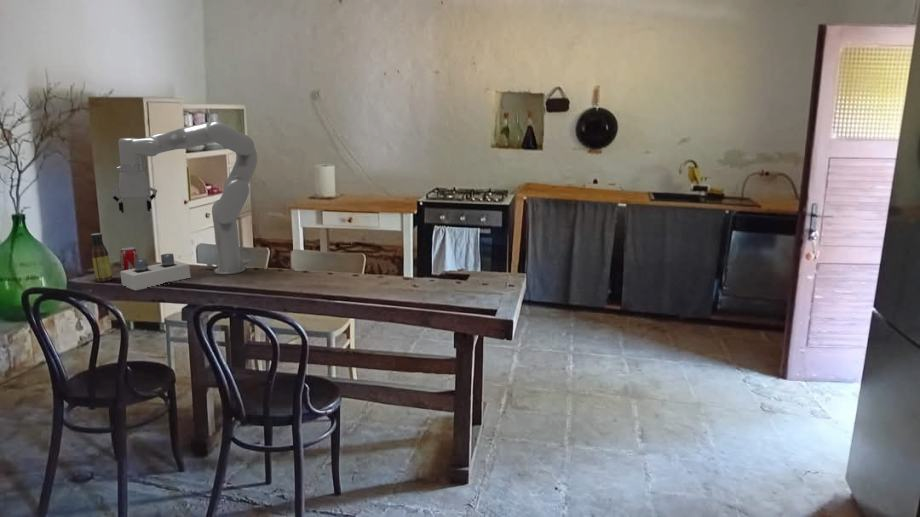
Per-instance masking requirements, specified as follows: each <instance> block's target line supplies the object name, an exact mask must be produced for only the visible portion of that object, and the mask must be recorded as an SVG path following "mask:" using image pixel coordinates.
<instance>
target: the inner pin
mask: <svg viewBox="0 0 920 517" xmlns="http://www.w3.org/2000/svg"><path fill="white" fill-rule="evenodd" d="M160 259H161V263H162V267H164V268H166V267H171V266H175V264H174V261H175V256H174V253H163V254H161V255H160Z"/></svg>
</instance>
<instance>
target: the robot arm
mask: <svg viewBox="0 0 920 517" xmlns="http://www.w3.org/2000/svg"><path fill="white" fill-rule="evenodd" d="M212 143H216V144H218V145H220V146H221V147H223V148H226V149H228V150H229V151H232V153H233V152H234V153H235V155H236V158H235V162H234V165H233V167H232V169H231V172H230V173H229V175H228V177H227V179H226V180H225V181H224V184H223V185H224V186H223V192H222V194H221V196H220V198H219V199H217V200H215V202H214V203H213V205H212V207H211V215H212V222H213V230H214V242H215V251H216V259H217V260H216V261H217V268H215V269H214V273H215V274H218V275H233V274H239V273H242V272H245V270H246V267H245V265H248V264H249V265H250V264H251V263H252V260H251V258H248V259H241V252H240V251H241V250H240V239H239V228H238V220H237V219H238V217H239V215H240V213H241V211H242V209H243V208H244V206H245V203H246V202H247V200H248V197H249V194H250V186H249V184H250V182H251V180H252V178H253V176H254V173H255V170H256V168H257V165H258V154H257V151H256V147H255V142H254V140H253V139H252V137H250V136H249V135H247V134H245V133H243V132H241V131H239V130H237V129H235V128H233V127H231V126H229V125H228V124H226V123H224V122H222V121H221V120H219V121H218V120H211V121H207V122H202V123H198V124H194V125H190V126H185V127H182V128H181V127H180V128H178V129H174V130H171V131H168V132H163V133H159V134H154V135H150V136H146V137H143V138H142V137H141V138H136V137H122V138H119V139H118V142H117V144H118V152H119V162H120V165H119V166H116V170H117V171H120V173H119V175H118V176H119V178H118V187H116V188H115V189H112V190H111V191H110V192H109V195H110V197H112V199H113V200H115V201H116V202H117V203H118V209H119V211H121V214H123V213H124V212H125V210H124V203H123V201H124V200H125V199H136V198H138V199H140V198H141V199H142V198H145V199H146V209H147V211H148V212H151V210H152V200H153V199H154V198H156V195H157V193H158V190H157V189H156V188H153V187H151V186H148V181H147V176H146V173H145V172H144V171H143V166H142V164H143V163H142V158H141V157H142V156H144V157H156V156H157V155H159V154H161V153H165V152H170V151H175V150H181V149H182V150H184V149H185V150H188V149H192V148H196V147H200V146H205V145H209V144H212ZM149 191H150V192H152V193H151V195H150V196H149ZM116 193H119V195H120V196H119V197H118V196H116V195H115V194H116Z"/></svg>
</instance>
